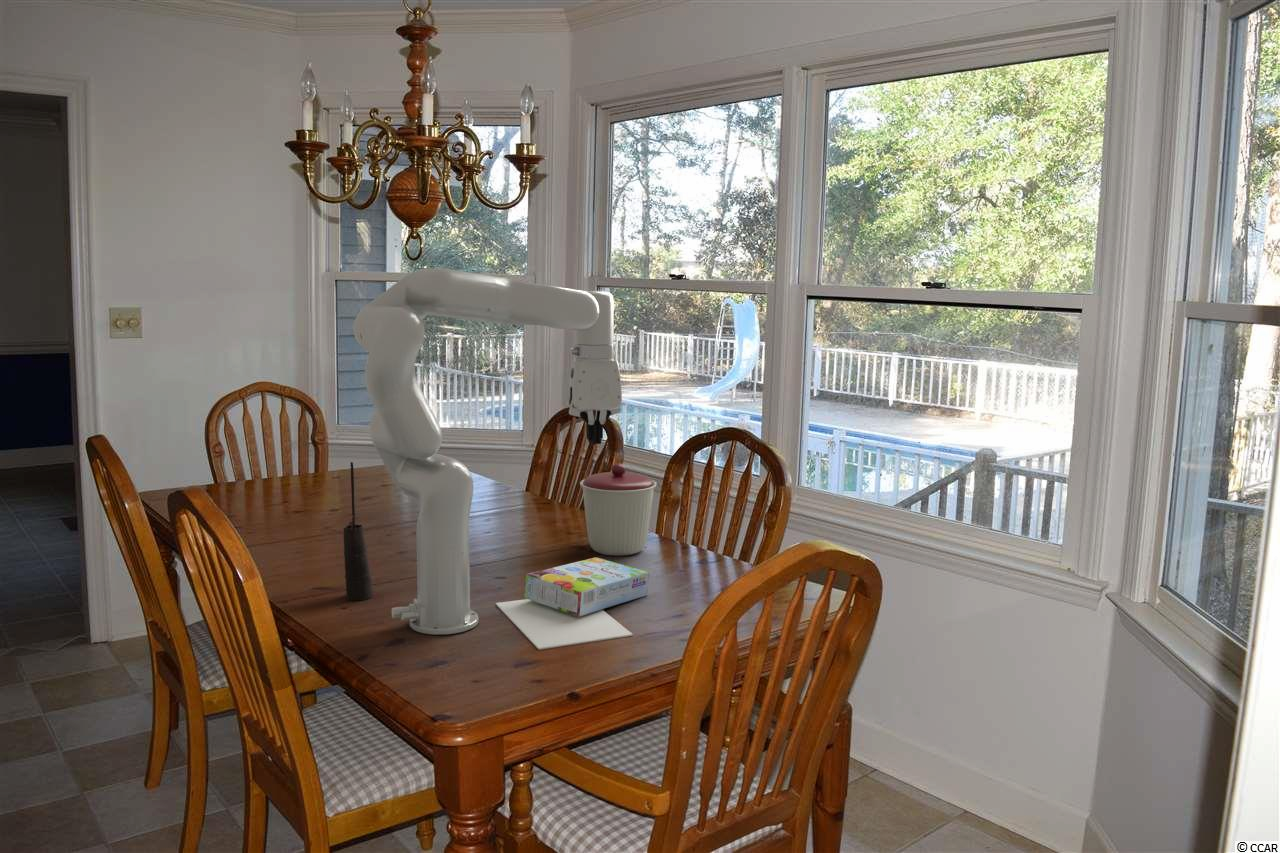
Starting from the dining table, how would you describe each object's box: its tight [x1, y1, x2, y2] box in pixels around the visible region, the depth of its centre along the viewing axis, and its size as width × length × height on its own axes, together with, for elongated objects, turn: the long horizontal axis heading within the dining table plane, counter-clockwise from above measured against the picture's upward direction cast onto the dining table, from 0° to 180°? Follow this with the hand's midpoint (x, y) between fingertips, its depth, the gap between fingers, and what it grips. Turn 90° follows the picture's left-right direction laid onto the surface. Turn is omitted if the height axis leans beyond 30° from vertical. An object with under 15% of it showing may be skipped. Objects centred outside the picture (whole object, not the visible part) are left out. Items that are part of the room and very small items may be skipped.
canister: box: [579, 462, 657, 557], centre depth 235 cm, size 18×18×21 cm
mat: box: [495, 598, 634, 651], centre depth 189 cm, size 18×26×1 cm
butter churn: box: [343, 461, 374, 602], centre depth 199 cm, size 9×10×28 cm
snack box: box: [523, 557, 650, 617], centre depth 200 cm, size 21×6×15 cm
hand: (594, 443), depth 202 cm, fingers closed
